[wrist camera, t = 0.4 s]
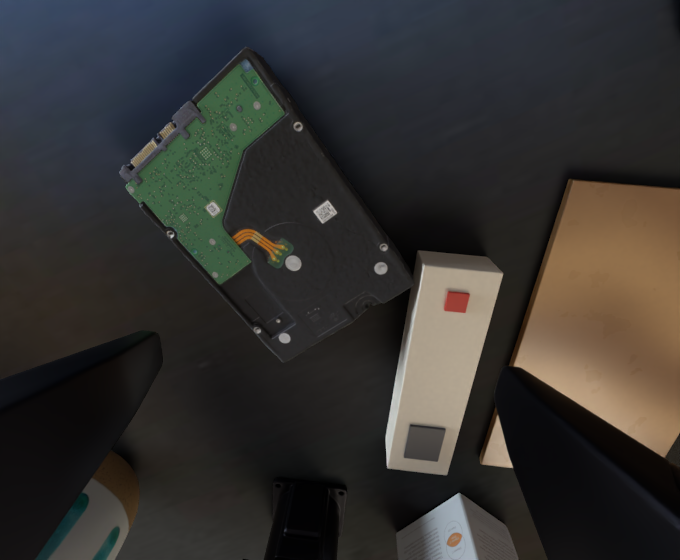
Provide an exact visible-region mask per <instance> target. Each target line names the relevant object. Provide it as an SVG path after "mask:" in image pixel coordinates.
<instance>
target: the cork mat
mask: <svg viewBox="0 0 680 560" xmlns="http://www.w3.org/2000/svg"><path fill="white" fill-rule="evenodd" d="M509 366H515V367H521V368H523V369H524V370H526V371H527V372H529V373H530V374H532V375H534V376H535V377H537V378H538V379H540V380H542V381H543V382H545V383H546V384H548V385H549V386H551V387H553V388H554V389H556V390H557V391H559V392H561V393H562V394H564V395H565V396H567V397H568V398H570V399H572V400H573V401H575V402H576V403H578V404H580V405H581V406H583V407H584V408H586V409H587V410H589V411H591V412H592V413H594V414H595V415H597V416H599V417H600V418H602V419H603V420H605V421H607V422H608V423H610V424H611V425H613V426H614V427H616V428H618V429H619V430H621V431H622V432H624V433H626V434H627V435H629V436H630V437H632V438H633V439H635V440H637V441H638V442H640V443H641V444H643V445H645V446H646V447H648V448H649V449H651V450H653V451H654V452H656V453H657V454H659V455H660V456H662V457H664V458H665V456H666V454H667V453H668V451H669V449H670V448H671V446H672V445H673V443H674V441H675V440H676V438H677V436H678V435H679V433H680V188H673V187H661V186H649V185H638V184H626V183H614V182H602V181H591V180H579V179H569V180H568V183H567V186H566V189H565V193H564V196H563V199H562V202H561V205H560V208H559V211H558V214H557V217H556V221H555V224H554V227H553V230H552V233H551V236H550V239H549V242H548V245H547V249H546V252H545V255H544V258H543V261H542V264H541V267H540V270H539V273H538V277H537V280H536V283H535V286H534V289H533V292H532V295H531V298H530V301H529V305H528V308H527V311H526V314H525V317H524V320H523V323H522V326H521V329H520V333H519V336H518V339H517V342H516V345H515V348H514V351H513V354H512V357H511V361H510V364H509ZM479 460H480V463H481V464H482V465H491V466H499V467H508V468H513V466H512V463H511V460H510V458H509V454H508V451H507V447H506V443H505V440H504V436H503V432H502V428H501V424H500V420H499V416H498V413H497V409H496V407H495V410H494V413H493V417H492V420H491V423H490V426H489V429H488V432H487V435H486V438H485V441H484V445H483V448H482V451H481V454H480V457H479Z"/></svg>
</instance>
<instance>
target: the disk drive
mask: <svg viewBox="0 0 680 560" xmlns="http://www.w3.org/2000/svg"><path fill="white" fill-rule="evenodd" d="M192 99H193V101H188V102H187V103H186V104H184V105H183V106H182V107H181V108H180V109H179V111H177V112H176V113H175V114H174V115H173V117H172V119H173V120H174V121H173V122H169V123H168V124H167V125H166V126H165V127H164V128H163V129H162V130H161V131H160V132H159V133H158V134H157V135H158V137H157V138H153V139H152V140H151V141H150V142H149V143H148V144H147V145H146V146H145V147H144V148H143V149H142V150H141V151H140V152H139V153H138V154H137V155H136V156H135V157H134V158H133V159H132V160H131V163H130V164H129V165H127V166H125V165H123V166H122V170H121V171H120V172H119V174H120V175H121V178H122V179H123V180H124V181H125V182H126V183H127V185H126V187H125V188H126V189H127V190H128V192H129V193H130V194H131V195H132V196H133V197H134V198H135V199H136V200H137V201H138V202H139V203H140V205H139V206H140V208H141V209H142V210H143V212H144V213H145V214H146V215H147V216H148V218H150V219H151V221H152V222H153V223H154V224H156V225H157V226H158V227H159V228H160V229H161V230H162V232H163V233H165V235H167V237H168V238H169V239H170V240H171V242H172V243H173V244H174V245H175V246H176V247H177V248H178V249H179V250H180V251H181V252H182V254H183V255H184V256H185V257H186V258H187V259H188V260H189V261H190V262H191V264H192V265H193V266H194V267H195V268H196V269H197V270H198V271H199V272H200V273H201V274H202V276H203V277H204V278H205V279H206V280H207V281H208V282H209V283H210V284H211V286H212V287H214V288H215V289H216V290H217V292H218V293H219V294H220V295H221V296H222V297H223V299H224V300H225V301H227V303H228V304H229V305H230V306H231V307H232V308H233V309H234V311H235V312H236V313H237V314H238V315H239V316H240V317H241V318H242V319H243V321H244V322H245V323H246V324H247V325H248V326H249V327H250V328H251V329H252V330H253V331H254V332H255V334H256V335H257V336H258V337H259V339H260V340H261V341H262V342H263V343H264V344H265V345H266V346H267V347H268V348H269V349H270V350H271V351H272V352H273V353H274V354H275V355H276V356H277V357H278V358H279V359H280V360H281V362H287V361H289V360H291V359H292V358H294V357H296V356H297V355H299V354H300V353H301V352H304V351H305V350H307V349H308V348H309V347H312V346H313V345H315V344H317V343H318V342H320V341H322V340H324V339H325V338H327V337H328V336H330V335H332V334H334V333H335V332H337V331H339V330H340V329H342V328H344V327H346V326H347V325H349V324H351V323H352V322H354V321H355V320H356V319H357V318H358V317H359V316H360V315H361V314H362V313H364V312H365V311H366V310H368V308H369V305H370V304H372V305H373V306H374V305H376V304H379V303H386V302H387V301H389V300H391V299H392V298H394V297H395V296H397V295H399V294H401V293H402V292H404V291H406V290H407V289H409V288H410V287H412V286H413V285H414V280H413V275H412V273H411V269H410V268H409V267H408V266H407V263H406V262H405V261H404V259H403V258H402V256H401V254H400V252H399V251H398V249H397V248H396V246H395V245H394V243H393V242H392V240H391V239H390V238H389V237H388V236H387V235H386V233H385V232H384V231H383V229H382V228H381V226H380V225H379V223H378V222H377V221H376V219H375V218H374V216H373V215H372V213H371V212H370V210H369V209H368V208H367V206H366V205H365V203H364V202H363V201H362V199H361V198H360V196H359V195H358V193H357V192H356V191H355V189H354V188H353V186H352V185H351V184H350V182H349V181H348V179H347V178H346V176H345V175H344V174H343V172H342V171H341V170H340V168H339V166H338V165H337V164H336V162H335V160H334V159H333V158H332V156H331V155H330V153H329V152H328V150H327V149H326V148H325V146H324V145H323V143H322V142H321V140H320V139H319V138H318V136H317V135H316V133H315V132H314V130H313V129H312V127H311V126H310V125H309V123H308V122H307V120H306V119H305V118H304V116H303V115H302V113H301V112H300V110H299V109H298V106H297V104H296V103H295V101H294V100H293V98H292V97H291V96H290V94H289V93H288V91H287V90H286V89H285V88H284V87H283V86H282V84H281V83H280V82H279V80H278V79H277V77H276V76H275V74H274V73H273V71H272V70H271V68H270V67H269V65H268V64H267V63H266V61H265V60H264V58H263V57H262V56H260V55H259V54H257V53H256V52H255V51H253V50H252V49H250V48H249V47H245V48H244V49H242V50H241V51H240V52H239V53H238V54H237V55H236V56H235V57H234V58H233V59H232V60H231V61H230V62H229V63H228V64H227V65H226V66H225V67H224V68H223V69H222V70H221V71H220V72H219V73H218V74H217V75H216V76H215V77H214V78H213V79H211V80H210V81H209V82H208V83H207V84H206V85H205V86H204V87H203V88H202V89H201V90H200V91H199V92H198V93H197V94H196V95H195V96H194V97H193V98H192Z"/></svg>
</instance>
